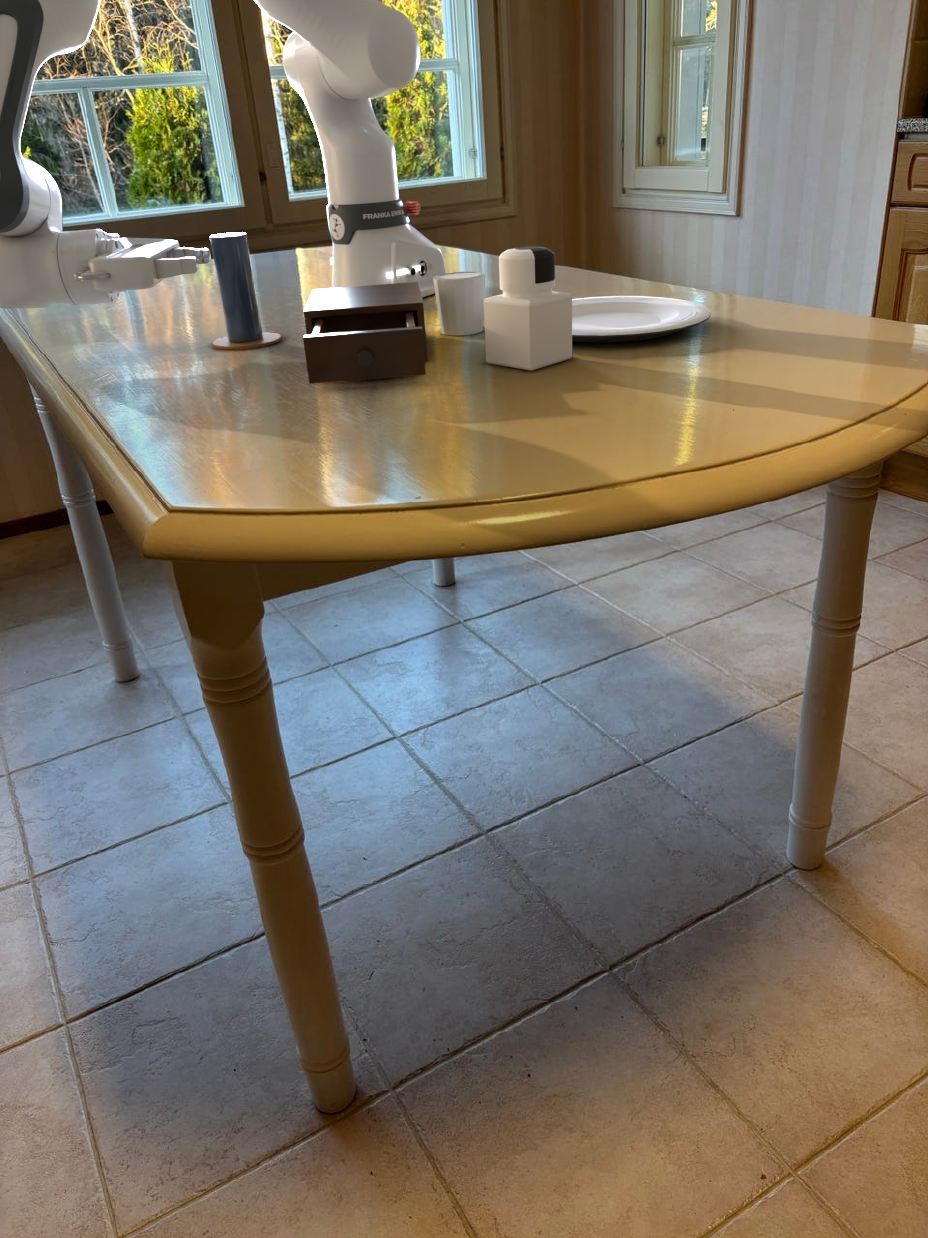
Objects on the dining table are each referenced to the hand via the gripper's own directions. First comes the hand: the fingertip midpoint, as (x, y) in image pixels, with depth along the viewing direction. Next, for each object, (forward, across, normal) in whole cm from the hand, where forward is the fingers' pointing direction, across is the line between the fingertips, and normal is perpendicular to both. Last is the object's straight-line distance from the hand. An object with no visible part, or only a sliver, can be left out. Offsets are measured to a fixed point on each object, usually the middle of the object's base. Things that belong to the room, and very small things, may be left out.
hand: (203, 259), depth 115 cm
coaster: (+4, 0, +11) cm, 11 cm away
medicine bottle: (+39, -23, +11) cm, 46 cm away
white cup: (+33, -3, +11) cm, 34 cm away
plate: (+51, -8, +11) cm, 53 cm away
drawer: (+20, -23, +10) cm, 32 cm away
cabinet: (+20, -11, +11) cm, 26 cm away
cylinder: (+4, 0, +10) cm, 11 cm away
